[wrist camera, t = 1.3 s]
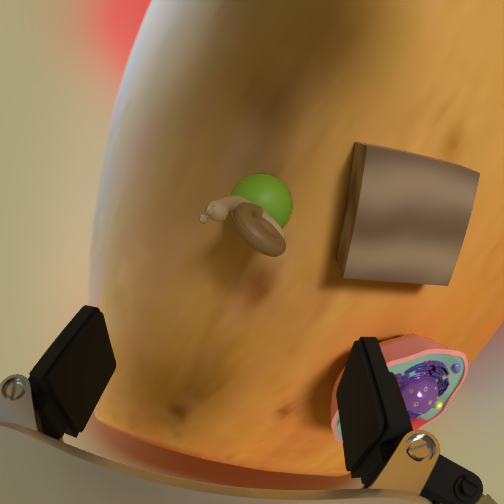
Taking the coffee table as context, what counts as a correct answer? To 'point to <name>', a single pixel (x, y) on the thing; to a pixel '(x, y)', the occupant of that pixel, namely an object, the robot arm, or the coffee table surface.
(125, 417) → the coffee table surface
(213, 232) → the coffee table surface
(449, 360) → the cell model
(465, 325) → the coffee table surface
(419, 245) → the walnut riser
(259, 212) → the snail figurine
